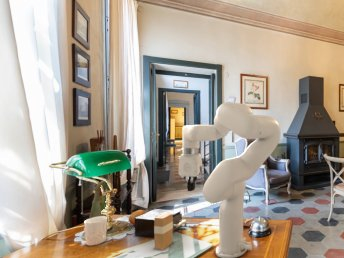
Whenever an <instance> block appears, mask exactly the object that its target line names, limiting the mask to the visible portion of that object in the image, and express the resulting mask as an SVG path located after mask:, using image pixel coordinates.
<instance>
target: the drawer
mask: <svg viewBox="0 0 344 258" xmlns="http://www.w3.org/2000/svg"><path fill="white" fill-rule="evenodd" d="M186 223H187V219H183V213H182V212H181V213H180V214H178V215H175V216H173V231H174V232H175V231H177V230H179V229H180V228H182V227H183V225H184V224H186ZM178 228H179V229H178ZM176 229H177V230H176Z"/></svg>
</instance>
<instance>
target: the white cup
mask: <svg viewBox="0 0 344 258" xmlns="http://www.w3.org/2000/svg"><path fill="white" fill-rule="evenodd" d="M83 225H84V227H83V228H84V239H85V245H86V246H96V245H99V244H102V243H104V242H105V241H106V240H107V232H108V231H107V217H106V216H98V217H93V218H90V219H89V218H87V219H86V220H84V222H83Z"/></svg>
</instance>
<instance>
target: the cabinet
mask: <svg viewBox="0 0 344 258" xmlns="http://www.w3.org/2000/svg"><path fill="white" fill-rule="evenodd" d="M163 213H173V216H175V215H178V214H180V213H182V212H181V210H175V209H174V210H173V209H163V208H154V209H152V210H150V211H148V212H146V213H145V214H143V215H141V216H138V217H136V218H135V225H134V236H135V237H141V238H150V239H155V234H154V218H155V217H157V216H159V215H161V214H163ZM179 229H180V228H178V229H176V230H175V231H177V230H179ZM175 231H173V233H174V232H175Z"/></svg>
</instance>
